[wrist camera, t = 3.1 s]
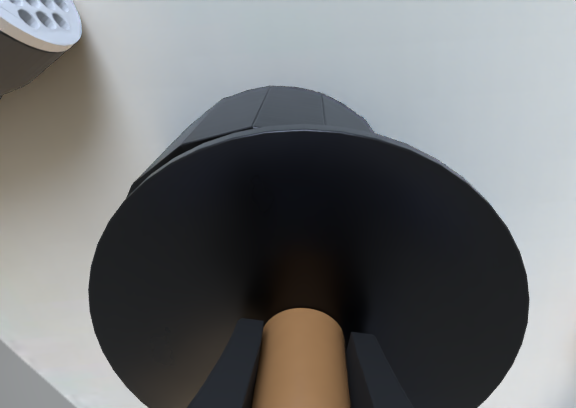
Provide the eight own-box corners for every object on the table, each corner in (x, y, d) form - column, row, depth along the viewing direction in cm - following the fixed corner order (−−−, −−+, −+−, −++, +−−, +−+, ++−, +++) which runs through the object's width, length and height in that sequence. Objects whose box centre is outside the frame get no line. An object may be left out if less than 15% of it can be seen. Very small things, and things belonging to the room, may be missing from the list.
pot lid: (439, 452, 15) (482, 601, 12) (121, 413, 15) (58, 551, 11) (589, 151, 10) (773, 251, 6) (82, 84, 10) (-70, 142, 6)
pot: (366, 298, 23) (386, 405, 17) (172, 272, 23) (122, 371, 17) (421, 104, 18) (478, 157, 12) (171, 69, 18) (97, 105, 12)
